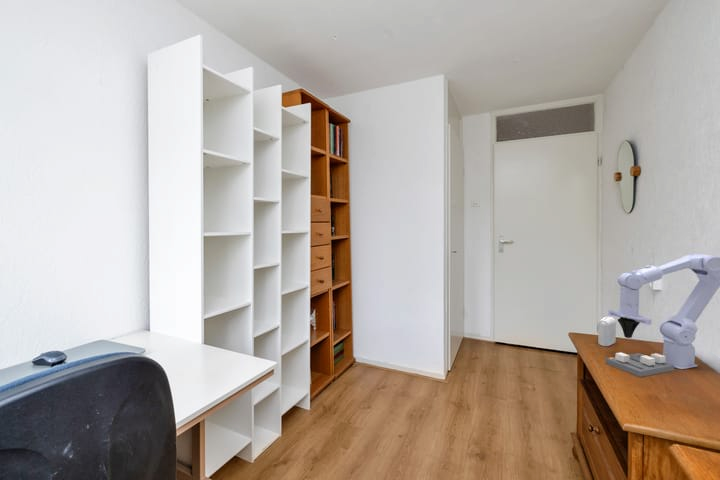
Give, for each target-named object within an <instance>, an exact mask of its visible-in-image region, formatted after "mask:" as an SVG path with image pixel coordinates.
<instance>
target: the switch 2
mask: <svg viewBox="0 0 720 480" xmlns="http://www.w3.org/2000/svg"><path fill="white" fill-rule="evenodd" d="M650 357H653V358H655V362H657V363H665V358H666V356H663V354H660V353H656V352H655V353H651V354H650Z"/></svg>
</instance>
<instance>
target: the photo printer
mask: <svg viewBox="0 0 720 480" xmlns="http://www.w3.org/2000/svg"><path fill="white" fill-rule="evenodd" d="M597 333H598V334H597V335H598V337H597V339H598V340H597V344H598V345H599V346H603V347H610V346H611V345H614V344H615V343H616V338H617V336H616V334H617V321H616V319H615V318H614V317H612V316H605V317H604V316H603V318H601V319H600V320H599V321H598V332H597Z"/></svg>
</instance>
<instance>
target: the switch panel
mask: <svg viewBox="0 0 720 480" xmlns="http://www.w3.org/2000/svg"><path fill="white" fill-rule="evenodd" d="M629 355H630V359H629V362H621V361H618V360H616V359H615V356H613V357H612V356H611V357H606V358H605V364H606V365H609V366H611V367H614V368H617V369H619V370H621V371H623V372H626V373H629V374H632V375H633V376H636V377H639V378H641V377H648V376H652V375H653V376H654V375H658V374H659V375H660V374H663V373H668V372H669V373H670V372H673V371H675V367H674V365H672V364H669V363H666V362H665V363H657V362H655V365H651V366H649V365H646V364H643V363H640V356H644V355H645V354H642V353H639V352H637V353H630V354H629Z"/></svg>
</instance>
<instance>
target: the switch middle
mask: <svg viewBox="0 0 720 480" xmlns="http://www.w3.org/2000/svg"><path fill="white" fill-rule="evenodd" d="M643 355H644V356H640V363H643V364H646V365H649V366H651V365H655V358H653V357H651V355H650V356H649V355H646V354H643Z"/></svg>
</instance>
